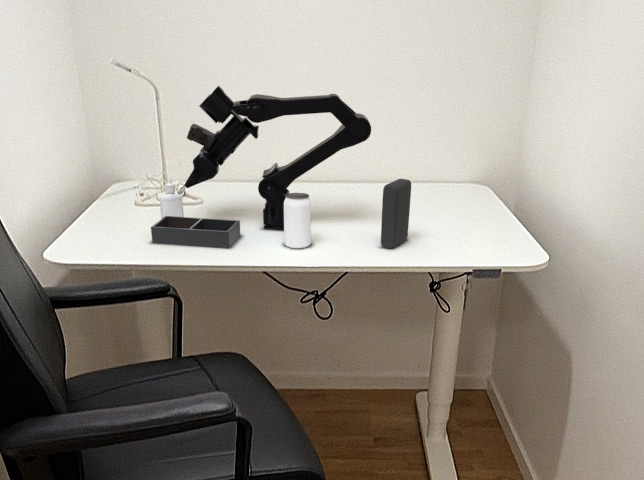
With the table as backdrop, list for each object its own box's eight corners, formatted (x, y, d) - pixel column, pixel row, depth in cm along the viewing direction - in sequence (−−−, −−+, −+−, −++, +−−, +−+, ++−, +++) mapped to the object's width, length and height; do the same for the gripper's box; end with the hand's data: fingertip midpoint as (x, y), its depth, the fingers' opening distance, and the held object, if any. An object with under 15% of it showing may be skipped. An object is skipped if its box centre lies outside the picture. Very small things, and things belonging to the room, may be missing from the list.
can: (301, 250, 177) (301, 200, 171) (279, 246, 180) (278, 196, 174) (315, 243, 181) (316, 194, 176) (294, 239, 184) (293, 190, 178)
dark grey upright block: (394, 237, 187) (398, 177, 179) (409, 240, 185) (413, 179, 178) (378, 247, 180) (381, 184, 172) (393, 250, 178) (396, 186, 171)
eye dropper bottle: (182, 228, 191) (178, 181, 185) (160, 227, 191) (156, 180, 185) (185, 223, 195) (181, 177, 189) (164, 223, 195) (160, 176, 189)
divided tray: (166, 231, 189) (165, 215, 187) (240, 236, 186) (239, 220, 184) (152, 243, 180) (150, 227, 178) (229, 248, 178) (228, 232, 176)
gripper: (210, 106, 188) (170, 151, 193) (199, 119, 171) (156, 167, 177) (242, 139, 192) (202, 182, 197) (235, 154, 175) (192, 200, 181)
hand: (188, 182), depth 188 cm, fingers open, 9 cm apart
